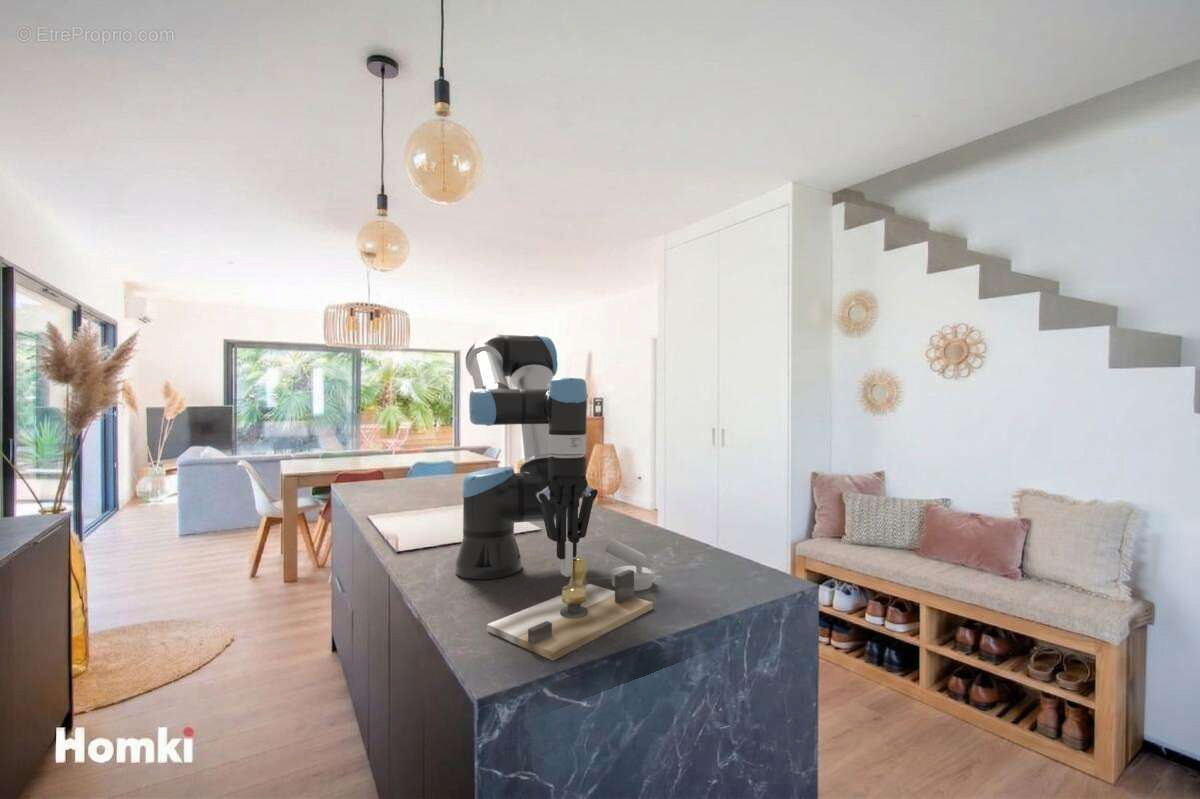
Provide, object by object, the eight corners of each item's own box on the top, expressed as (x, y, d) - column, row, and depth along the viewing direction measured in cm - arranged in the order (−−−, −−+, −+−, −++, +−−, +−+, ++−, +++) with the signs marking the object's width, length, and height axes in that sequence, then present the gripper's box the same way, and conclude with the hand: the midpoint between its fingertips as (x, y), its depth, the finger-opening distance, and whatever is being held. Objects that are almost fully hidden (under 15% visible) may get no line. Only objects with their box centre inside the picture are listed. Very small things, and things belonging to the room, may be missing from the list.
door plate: (487, 631, 89) (486, 594, 89) (589, 589, 109) (589, 559, 109) (553, 660, 79) (552, 619, 79) (653, 608, 98) (652, 575, 98)
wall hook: (608, 533, 118) (653, 535, 116) (609, 575, 118) (653, 578, 116) (601, 543, 109) (649, 545, 107) (601, 589, 109) (649, 592, 107)
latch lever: (585, 610, 91) (585, 581, 91) (560, 610, 92) (560, 581, 92) (591, 581, 106) (591, 557, 106) (569, 581, 106) (569, 556, 106)
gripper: (544, 458, 98) (543, 585, 98) (605, 456, 104) (604, 575, 104) (530, 455, 105) (529, 573, 104) (587, 452, 111) (587, 564, 111)
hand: (566, 574), depth 104 cm, fingers closed
